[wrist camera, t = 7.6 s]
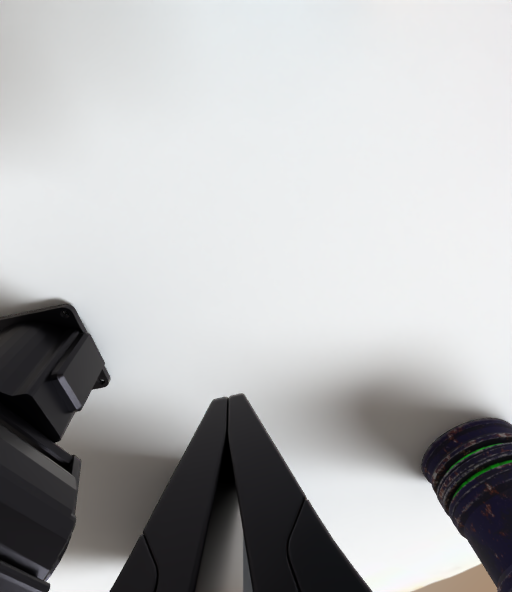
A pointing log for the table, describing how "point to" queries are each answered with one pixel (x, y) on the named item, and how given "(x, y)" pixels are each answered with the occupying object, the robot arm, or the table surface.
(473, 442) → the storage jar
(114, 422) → the table surface
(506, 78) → the table surface
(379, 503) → the table surface
